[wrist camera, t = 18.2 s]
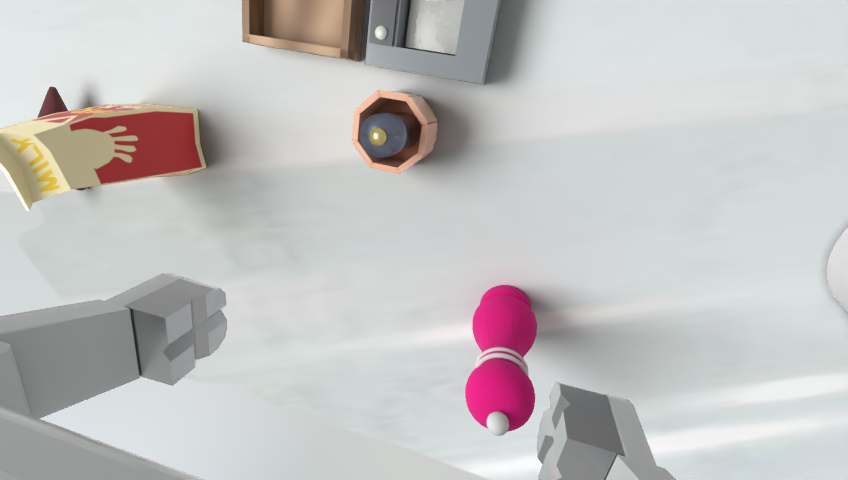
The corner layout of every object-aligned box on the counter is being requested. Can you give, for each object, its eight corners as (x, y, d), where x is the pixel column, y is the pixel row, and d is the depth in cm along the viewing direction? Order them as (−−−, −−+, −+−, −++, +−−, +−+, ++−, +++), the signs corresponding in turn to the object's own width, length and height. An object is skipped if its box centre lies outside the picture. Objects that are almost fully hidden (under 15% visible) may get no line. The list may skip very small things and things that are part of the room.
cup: (443, 99, 42) (432, 98, 37) (431, 169, 45) (420, 178, 40) (375, 87, 43) (356, 85, 38) (368, 157, 46) (349, 164, 41)
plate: (467, -5, 38) (466, -7, 37) (457, 55, 40) (456, 54, 39) (414, -12, 39) (412, -14, 38) (407, 47, 41) (405, 46, 40)
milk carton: (137, 103, 51) (-78, 105, 33) (197, 106, 49) (6, 109, 31) (152, 173, 54) (-37, 210, 36) (209, 177, 52) (42, 219, 34)
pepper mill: (526, 275, 47) (532, 388, 28) (541, 327, 48) (555, 465, 30) (469, 287, 49) (439, 399, 31) (485, 336, 51) (466, 470, 32)
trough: (366, -18, 40) (353, -28, 37) (359, 61, 43) (347, 58, 40) (262, -31, 42) (241, -42, 39) (261, 45, 45) (242, 41, 42)
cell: (423, 115, 43) (401, 118, 35) (417, 151, 44) (395, 162, 36) (388, 108, 43) (359, 110, 35) (384, 145, 45) (355, 154, 37)
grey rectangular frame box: (506, -27, 37) (505, -41, 34) (484, 84, 41) (481, 83, 37) (387, -41, 39) (374, -56, 35) (376, 66, 43) (363, 63, 39)
